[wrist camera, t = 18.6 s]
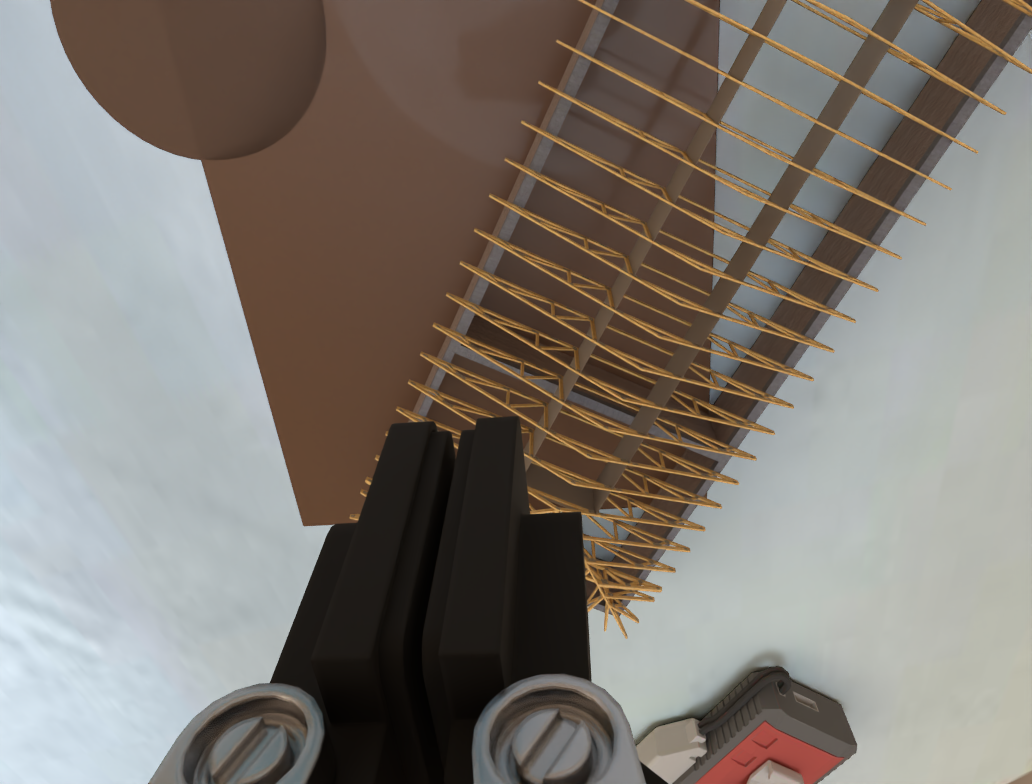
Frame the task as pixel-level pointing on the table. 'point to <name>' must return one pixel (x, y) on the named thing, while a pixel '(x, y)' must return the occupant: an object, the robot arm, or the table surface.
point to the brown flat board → (415, 195)
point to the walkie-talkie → (754, 737)
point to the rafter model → (809, 303)
